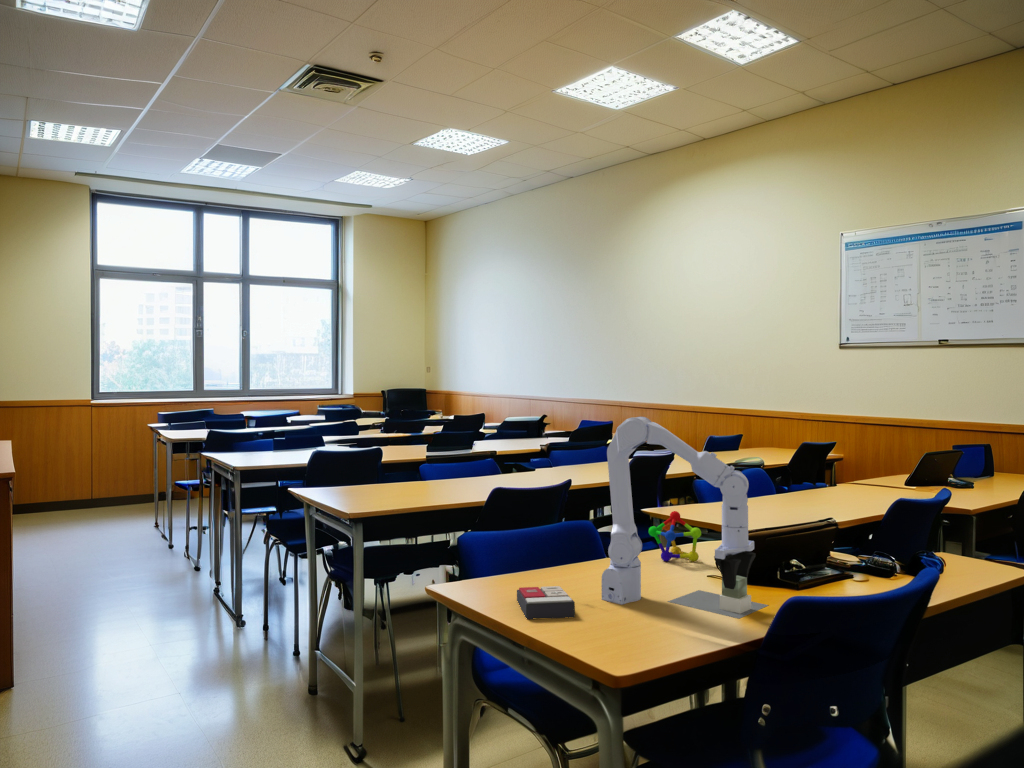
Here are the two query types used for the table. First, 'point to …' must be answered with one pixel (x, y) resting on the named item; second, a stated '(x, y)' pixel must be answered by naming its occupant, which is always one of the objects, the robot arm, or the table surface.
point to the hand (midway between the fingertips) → (735, 586)
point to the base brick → (735, 603)
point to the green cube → (736, 588)
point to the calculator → (545, 602)
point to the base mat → (712, 603)
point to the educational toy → (671, 536)
